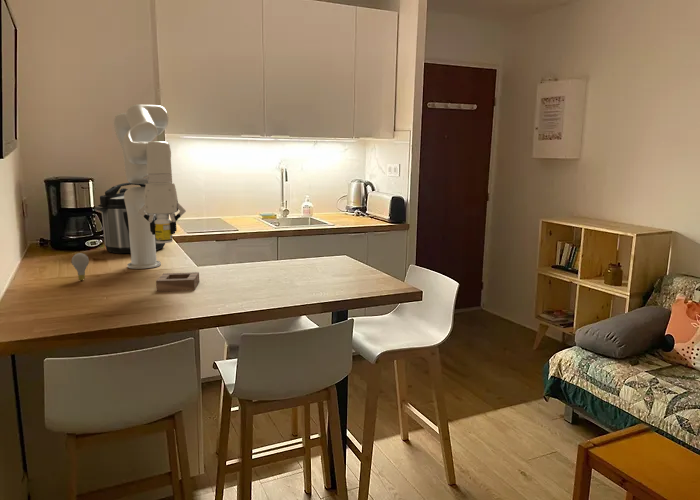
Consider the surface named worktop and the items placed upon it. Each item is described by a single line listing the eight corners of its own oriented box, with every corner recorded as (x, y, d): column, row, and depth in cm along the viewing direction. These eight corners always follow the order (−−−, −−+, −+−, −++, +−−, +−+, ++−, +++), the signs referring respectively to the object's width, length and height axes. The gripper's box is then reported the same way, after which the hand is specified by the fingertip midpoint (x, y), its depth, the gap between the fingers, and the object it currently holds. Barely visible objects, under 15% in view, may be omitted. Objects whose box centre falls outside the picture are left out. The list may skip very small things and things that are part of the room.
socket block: (164, 283, 192) (163, 273, 191) (199, 282, 194) (198, 272, 193) (156, 291, 180) (156, 281, 180) (194, 290, 182) (193, 279, 181)
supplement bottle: (152, 242, 186) (150, 213, 184) (167, 240, 189) (165, 212, 188) (160, 244, 182) (158, 214, 180) (175, 242, 186) (173, 213, 184)
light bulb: (83, 282, 194) (81, 254, 192) (70, 282, 195) (67, 254, 193) (93, 279, 199) (91, 252, 197) (80, 278, 200) (77, 251, 199)
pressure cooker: (94, 256, 245) (88, 184, 240) (108, 246, 273) (102, 181, 267) (165, 253, 251) (160, 183, 246) (171, 244, 279) (167, 180, 273)
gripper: (130, 180, 178) (134, 236, 181) (184, 179, 180) (188, 234, 182) (136, 179, 185) (140, 233, 188) (188, 178, 187) (192, 231, 190)
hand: (163, 233), depth 185 cm, fingers closed on supplement bottle, 5 cm apart
